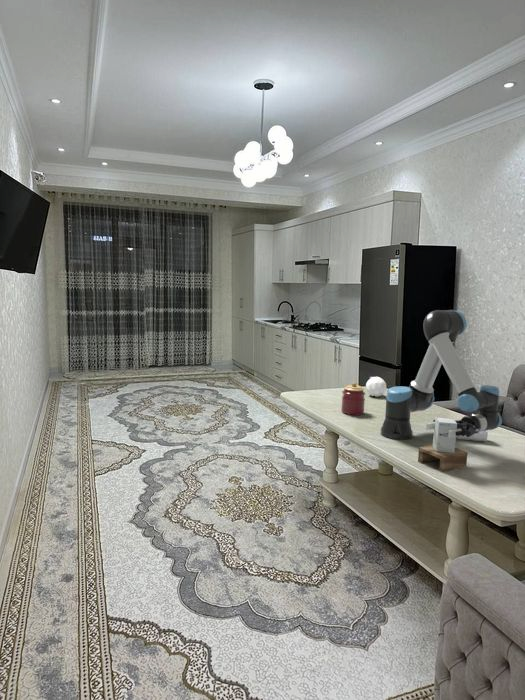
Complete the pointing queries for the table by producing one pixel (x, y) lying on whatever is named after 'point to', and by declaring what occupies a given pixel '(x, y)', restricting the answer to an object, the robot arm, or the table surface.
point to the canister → (353, 400)
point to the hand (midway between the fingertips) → (437, 430)
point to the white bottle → (475, 436)
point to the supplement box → (444, 435)
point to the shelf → (443, 457)
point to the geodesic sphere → (376, 386)
